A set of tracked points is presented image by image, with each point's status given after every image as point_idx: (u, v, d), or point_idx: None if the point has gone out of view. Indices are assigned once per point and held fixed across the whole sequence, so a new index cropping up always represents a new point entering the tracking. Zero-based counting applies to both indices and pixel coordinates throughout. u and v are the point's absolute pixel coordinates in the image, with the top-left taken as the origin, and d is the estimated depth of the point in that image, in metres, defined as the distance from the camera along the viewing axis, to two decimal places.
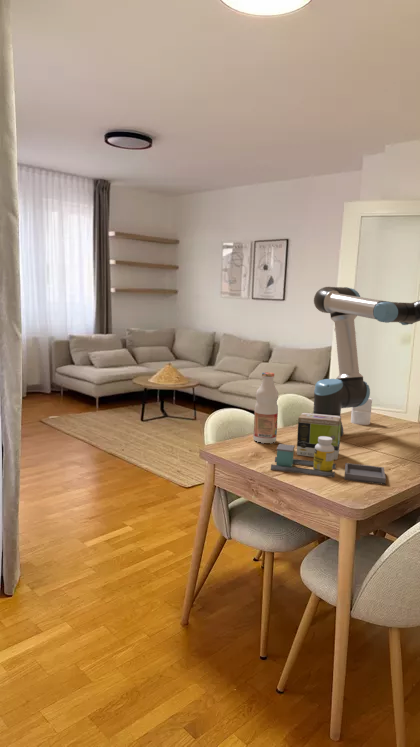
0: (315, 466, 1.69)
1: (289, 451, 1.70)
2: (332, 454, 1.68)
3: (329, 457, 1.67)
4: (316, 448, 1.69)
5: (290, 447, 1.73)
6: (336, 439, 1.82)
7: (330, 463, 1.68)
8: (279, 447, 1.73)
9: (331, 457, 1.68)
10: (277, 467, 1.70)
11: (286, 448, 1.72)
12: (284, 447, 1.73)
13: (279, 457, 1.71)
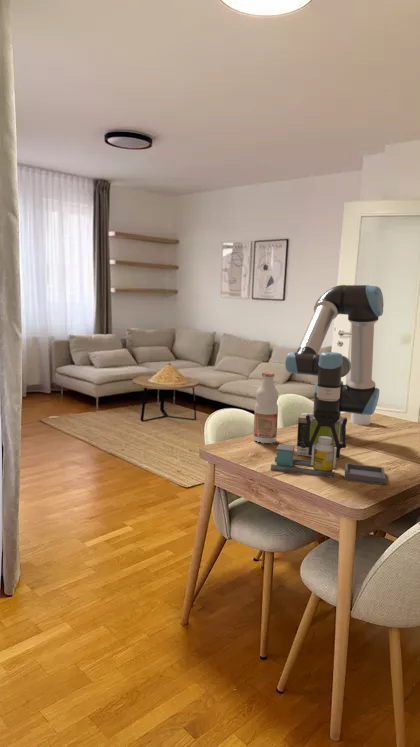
0: (315, 466, 1.69)
1: (289, 451, 1.70)
2: (332, 454, 1.68)
3: (329, 457, 1.67)
4: (316, 448, 1.69)
5: (290, 447, 1.73)
6: None
7: (330, 463, 1.68)
8: (279, 447, 1.73)
9: (331, 457, 1.68)
10: (277, 467, 1.70)
11: (286, 448, 1.72)
12: (284, 447, 1.73)
13: (279, 457, 1.71)
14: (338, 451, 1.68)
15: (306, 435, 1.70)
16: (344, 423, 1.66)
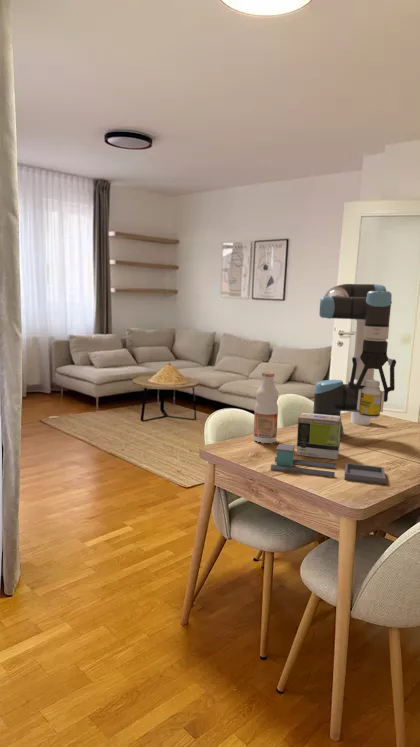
0: (362, 410, 1.63)
1: (289, 451, 1.70)
2: (380, 397, 1.61)
3: (376, 400, 1.60)
4: (363, 391, 1.62)
5: (290, 447, 1.73)
6: (336, 439, 1.82)
7: (378, 407, 1.61)
8: (279, 447, 1.73)
9: (379, 400, 1.61)
10: (277, 467, 1.70)
11: (286, 448, 1.72)
12: (284, 447, 1.73)
13: (279, 457, 1.71)
14: (386, 394, 1.61)
15: (352, 378, 1.63)
16: (393, 364, 1.59)
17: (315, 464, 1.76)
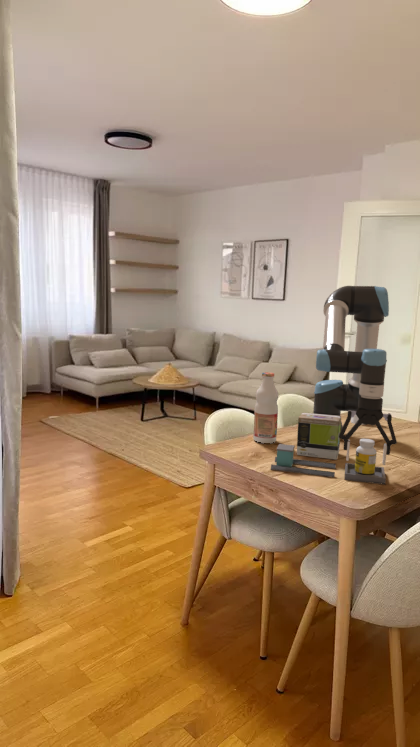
0: (357, 469, 1.66)
1: (289, 451, 1.70)
2: (375, 457, 1.64)
3: (371, 460, 1.63)
4: (358, 451, 1.65)
5: (290, 447, 1.73)
6: (336, 439, 1.82)
7: (373, 466, 1.64)
8: (279, 447, 1.73)
9: (374, 460, 1.64)
10: (277, 467, 1.70)
11: (286, 448, 1.72)
12: (284, 447, 1.73)
13: (279, 457, 1.71)
14: (388, 447, 1.63)
15: (343, 430, 1.66)
16: (389, 419, 1.62)
17: (315, 464, 1.76)
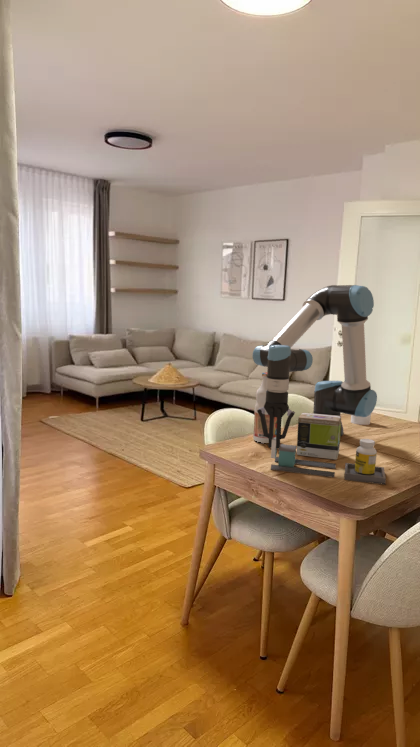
0: (357, 469, 1.66)
1: (291, 451, 1.70)
2: (375, 457, 1.64)
3: (371, 460, 1.63)
4: (358, 451, 1.65)
5: (292, 447, 1.73)
6: (336, 439, 1.82)
7: (373, 466, 1.64)
8: (281, 447, 1.73)
9: (374, 460, 1.64)
10: (277, 467, 1.70)
11: (288, 448, 1.72)
12: (286, 447, 1.73)
13: (282, 457, 1.71)
14: (278, 442, 1.73)
15: (264, 428, 1.74)
16: (290, 416, 1.70)
17: (315, 464, 1.76)
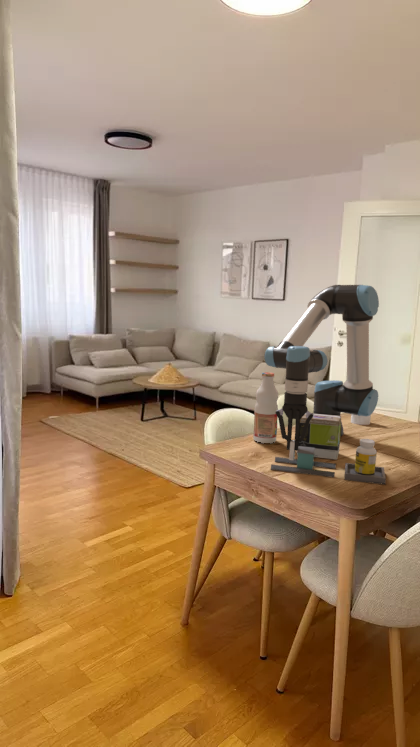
0: (357, 469, 1.66)
1: (310, 453, 1.68)
2: (375, 457, 1.64)
3: (371, 460, 1.63)
4: (358, 451, 1.65)
5: (311, 449, 1.71)
6: (336, 439, 1.82)
7: (373, 466, 1.64)
8: (300, 449, 1.71)
9: (374, 460, 1.64)
10: (277, 467, 1.70)
11: (307, 450, 1.70)
12: (304, 449, 1.71)
13: (300, 460, 1.70)
14: (296, 444, 1.72)
15: (282, 430, 1.72)
16: (309, 418, 1.69)
17: (315, 464, 1.76)
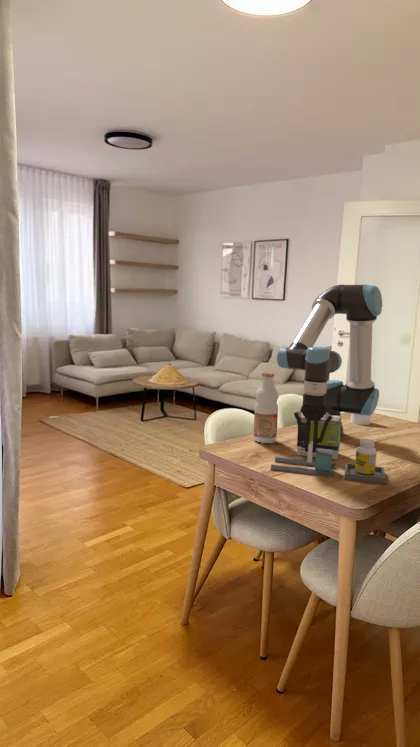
0: (357, 469, 1.66)
1: (329, 456, 1.67)
2: (375, 457, 1.64)
3: (371, 460, 1.63)
4: (358, 451, 1.65)
5: (329, 451, 1.70)
6: (336, 439, 1.82)
7: (373, 466, 1.64)
8: (318, 451, 1.69)
9: (374, 460, 1.64)
10: (277, 467, 1.70)
11: (325, 452, 1.68)
12: (323, 451, 1.70)
13: (319, 462, 1.68)
14: (314, 446, 1.70)
15: (300, 432, 1.70)
16: (328, 420, 1.67)
17: (315, 464, 1.76)
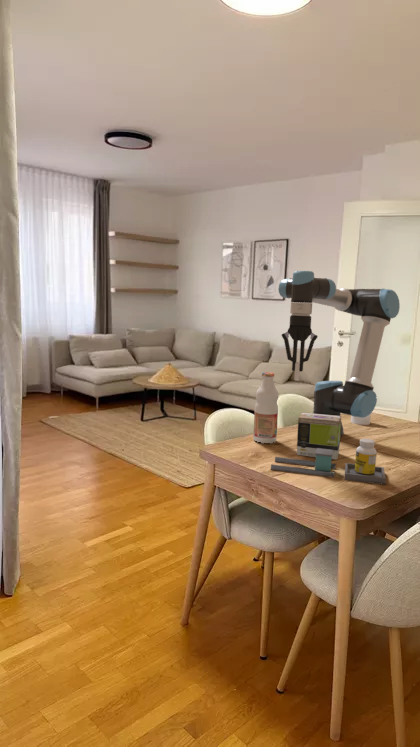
0: (357, 469, 1.66)
1: (328, 456, 1.67)
2: (375, 457, 1.64)
3: (371, 460, 1.63)
4: (358, 451, 1.65)
5: (329, 451, 1.70)
6: (336, 439, 1.82)
7: (373, 466, 1.64)
8: (318, 451, 1.69)
9: (374, 460, 1.64)
10: (277, 467, 1.70)
11: (325, 452, 1.68)
12: (322, 451, 1.70)
13: (318, 462, 1.68)
14: (301, 365, 1.82)
15: (287, 352, 1.82)
16: (313, 339, 1.79)
17: None
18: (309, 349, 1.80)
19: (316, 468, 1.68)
